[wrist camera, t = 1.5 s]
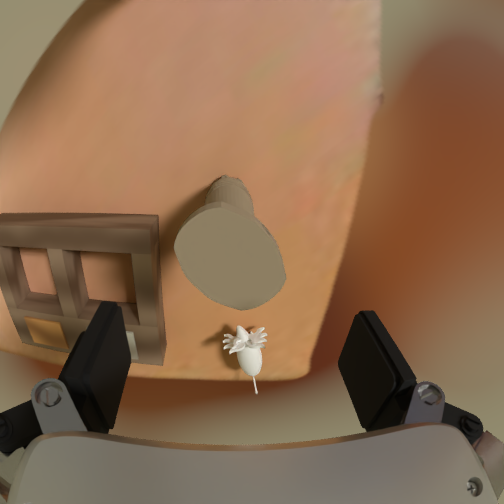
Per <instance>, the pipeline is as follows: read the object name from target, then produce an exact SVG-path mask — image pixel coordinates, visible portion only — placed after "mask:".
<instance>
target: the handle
mask: <svg viewBox="0 0 504 504" xmlns="http://www.w3.org/2000/svg"><path fill="white" fill-rule="evenodd" d="M174 250H175V253H176V256H177V258H178V261H179V263H180V266H181V268H182V270H183V272H184V274H185V276H186V277H187V278H188V280H189V281H190V282H191V283H192V284H193V285H194V286H195V287H196V288H198V289H199V290H200V291H201V292H202V293H203V294H204V295H205V296H207V297H208V298H210V299H211V300H213V301H215V302H217V303H219V304H222V305H225V306H228V307H231V308H234V309H237V310H249V309H253V308H256V307H258V306H260V305H262V304H264V303H266V302H267V301H269V300H270V299H272V298H273V297H274V296H275V295H276V294H277V293H278V292H279V291H280V290H281V288H282V287H283V285H284V283H285V280H286V274H285V269H284V264H283V260H282V256H281V254H280V251H279V247H278V245H277V242H276V240H275V239H274V237H273V236H272V235H271V233H270V232H269V231H268V230H267V228H266V227H265V226H264V225H263V224H262V223H261V222H260V221H259V220H258V219H257V218H256V217H255V216H254V208H253V202H252V199H251V196H250V194H249V192H248V190H247V188H246V187H245V186H244V184H243V182H242V181H241V180H240V179H238V178H237V179H236V178H232V177H229V176H227V175H223V176H221V178H220V179H219V180H217V181H216V182H214V183H213V184H212V186H211V188H210V189H209V191H208V193H207V196H206V200H205V205H204V206H202V207H200V208H199V209H197V210H196V211H195V212H193V213H192V214H191V215H190V216H189V217H188V218H187V219H186V220H185V221H184V223H183V224H182V226H181V227H180V229H179V232H178V234H177V237H176V240H175V244H174Z"/></svg>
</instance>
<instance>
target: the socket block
mask: <svg viewBox="0 0 504 504" xmlns="http://www.w3.org/2000/svg"><path fill="white" fill-rule="evenodd" d="M19 247H30V248H46V249H47V252H48V256H49V261H50V266H51V270H52V274H53V278H54V282H55V286H56V290H57V293H58V295H50V294H43V293H36V292H30V289H29V285H28V282H27V278H26V275H25V271H24V267H23V264H22V260H21V255H20V251H19ZM80 251H96V252H113V253H131V258H132V268H133V277H134V285H135V293H136V300H137V304H134V303H122V302H116V303H117V305H118V306H121V308H122V313H123V318H124V324H125V329H126V334H127V339H128V343H129V348H130V352H131V363H140V364H150V365H160V366H163V362H164V357H165V351H166V346H167V341H166V332H165V323H164V312H163V300H162V287H161V272H160V253H159V223H158V215H143V214H106V213H1V214H0V287H1V290H2V293H3V296H4V299H5V302H6V304H7V307H8V310H9V312H10V315H11V317H12V320H13V322H14V325H15V327H16V329H17V332H18V334H19V336H20V338H21V341H22V343H26V344H30V345H34V346H38V347H43V348H47V349H52V350H57V351H62V352H67V353H71V351H72V349H73V347H74V345H75V343H76V341H77V339H78V337H79V335H80V333H81V332H82V331H86V329H87V327H88V325H89V324H90V322H91V320H92V318H93V316H94V314H95V312H96V310H97V309H98V307H99V305H100V303H101V302H102V300H92V299H89V297H88V292H87V288H86V283H85V278H84V273H83V268H82V263H81V257H80ZM111 302H112V301H111Z"/></svg>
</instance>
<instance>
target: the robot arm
mask: <svg viewBox="0 0 504 504" xmlns="http://www.w3.org/2000/svg"><path fill="white" fill-rule="evenodd" d="M130 364H131V352H130V348H129V343H128V339H127V334H126V329H125V324H124V318H123V313H122V308H121V306H118V305H117V303H116V302H111V301H102V302H101V303H100V305H99V307H98V309H97V310H96V312H95V314H94V316H93V318H92V320H91V322H90V324H89V325H88V327H87V329H86V331H82V332H81V333H80V335H79V337H78V339H77V341H76V343H75V345H74V347H73V349H72V351H71V353H70V355H69V357H68V359H67V361H66V363H65V365H64V367H63V369H62V371H61V373H60V375H59V378H58V380H57V379H54V378H48V379H43V380H42V381H40V382H38V383H37V384H36V385H35V386H34V388H33V389H32V392H31V400H29V401H27V402H25V403H23V404H20V405H18V406H16V407H13V408H11V409H9V410H7V411H4V412H2V413H0V504H499V503H498V499H499V497H500V495H501V493H502V491H503V489H504V444H503V442H501V441H500V440H499V439H497V438H496V437H495V436H493V435H492V434H491V433H490V432H488V431H485V432H483V425H482V422H481V421H480V419H479V418H478V417H477V416H475V415H473V414H471V413H469V412H467V411H464V410H462V409H460V408H457V407H455V406H453V405H450V404H448V403H446V402H445V395H444V392H443V391H442V389H441V388H440V387H439V386H438V385H436V384H434V383H432V382H428V381H423V382H420V383H417V382H416V377H415V375H414V373H413V372H412V370H411V368H410V366H409V365H408V363H407V362H406V360H405V358H404V357H403V355H402V353H401V352H400V350H399V349H398V347H397V345H396V344H395V342H394V341H393V339H392V338H391V336H390V334H389V333H388V331H387V330H386V328H385V327H384V325H383V324H382V322H381V321H380V319H379V318H378V316H377V315H376V313H375V312H374V311H360V312H359V313H358V314H357V315H355V317H354V320H353V323H352V326H351V328H350V331H349V334H348V336H347V339H346V342H345V344H344V347H343V350H342V352H341V355H340V357H339V360H338V367H339V370H340V372H341V375H342V377H343V380H344V382H345V385H346V387H347V390H348V392H349V395H350V398H351V400H352V403H353V405H354V408H355V411H356V413H357V416H358V419H359V421H360V424H361V426H362V428H365V429H366V431H367V432H365V433H359V434H354V435H348V436H342V437H336V438H328V439H321V440H312V441H303V442H293V443H281V444H280V443H279V444H263V445H262V444H260V445H207V444H187V443H175V442H164V441H154V440H146V439H138V438H131V437H124V436H118V435H111V434H108V432H109V429H113V427H114V424H115V420H116V415H117V412H118V408H119V404H120V400H121V396H122V393H123V389H124V385H125V381H126V378H127V375H128V371H129V368H130Z"/></svg>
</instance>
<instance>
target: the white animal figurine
mask: <svg viewBox="0 0 504 504" xmlns="http://www.w3.org/2000/svg"><path fill="white" fill-rule="evenodd" d="M262 330H265V329H264V327H261V328H259V329H258V330H257V331H256V333H253V332H252V331H250V334H248V332H247V331H246V330H245V329H244V328H243V327H241V326H239V325H238V326H237V328H236V331H237V334H236V336H232V335H231V334H224V337H228V338H229V339H225V340H223V343H225V342H227V343H230V344H227V345H225V346H224V349H226V348H231V349H230V351H229V353H232V352H237V358H238V362H239V364H240V366H241V368H242V370H243V371H244V372H245V373H246V374H247V375H249V376H253V381H254V386H255V393H256V394H257V393H258V391H257V389H256V384H255V378H254V376H255V375H257V374H258V373H259V372H260V369H261V366H262V355H261V351H260V348H265V346H264V345H263V344H262V343H261V342H267V340H266V339H265V338H263V337H264V336H267V333H261V331H262ZM260 333H261V334H260Z"/></svg>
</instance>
